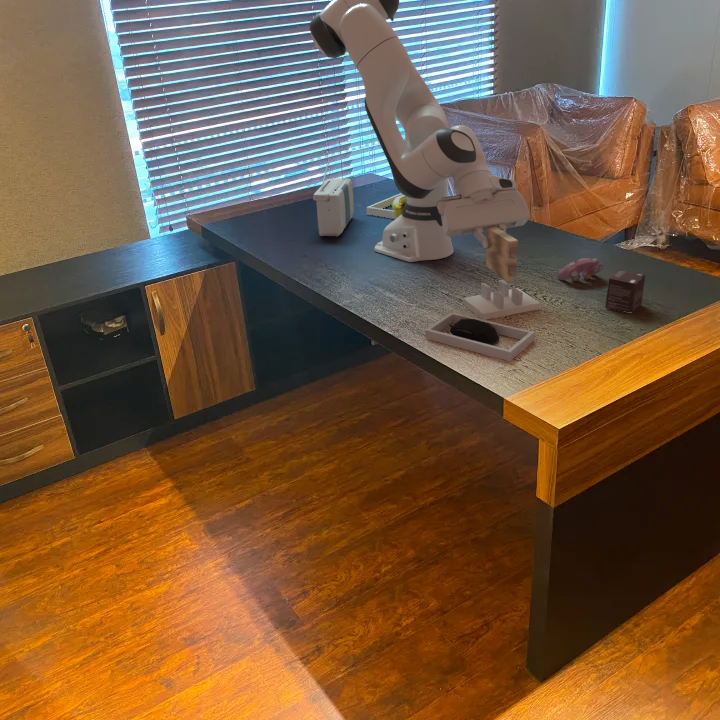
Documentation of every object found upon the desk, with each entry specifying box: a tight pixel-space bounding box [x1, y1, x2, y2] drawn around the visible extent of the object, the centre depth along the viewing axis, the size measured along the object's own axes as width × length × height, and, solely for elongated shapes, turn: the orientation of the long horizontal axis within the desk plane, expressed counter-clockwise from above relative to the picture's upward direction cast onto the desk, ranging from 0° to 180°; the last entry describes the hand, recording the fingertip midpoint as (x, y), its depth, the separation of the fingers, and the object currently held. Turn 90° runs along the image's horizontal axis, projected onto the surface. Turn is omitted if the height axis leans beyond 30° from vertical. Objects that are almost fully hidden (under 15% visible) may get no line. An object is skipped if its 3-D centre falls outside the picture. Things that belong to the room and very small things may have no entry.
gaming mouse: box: [448, 319, 500, 346], centre depth 149 cm, size 6×15×4 cm, turn 38°
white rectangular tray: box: [366, 192, 403, 220], centre depth 232 cm, size 26×21×2 cm
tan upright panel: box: [485, 227, 519, 283], centre depth 155 cm, size 11×2×9 cm, turn 18°
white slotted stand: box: [462, 279, 541, 321], centre depth 160 cm, size 10×14×4 cm
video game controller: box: [557, 257, 604, 282], centre depth 172 cm, size 10×5×7 cm, turn 106°
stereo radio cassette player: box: [312, 156, 355, 238], centre depth 218 cm, size 21×8×20 cm, turn 170°
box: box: [604, 269, 646, 313], centre depth 156 cm, size 6×6×7 cm
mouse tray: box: [424, 311, 535, 362], centre depth 146 cm, size 20×11×2 cm, turn 52°
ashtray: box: [391, 195, 407, 220], centre depth 231 cm, size 16×21×5 cm
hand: (495, 246), depth 157 cm, fingers closed on tan upright panel, 2 cm apart
